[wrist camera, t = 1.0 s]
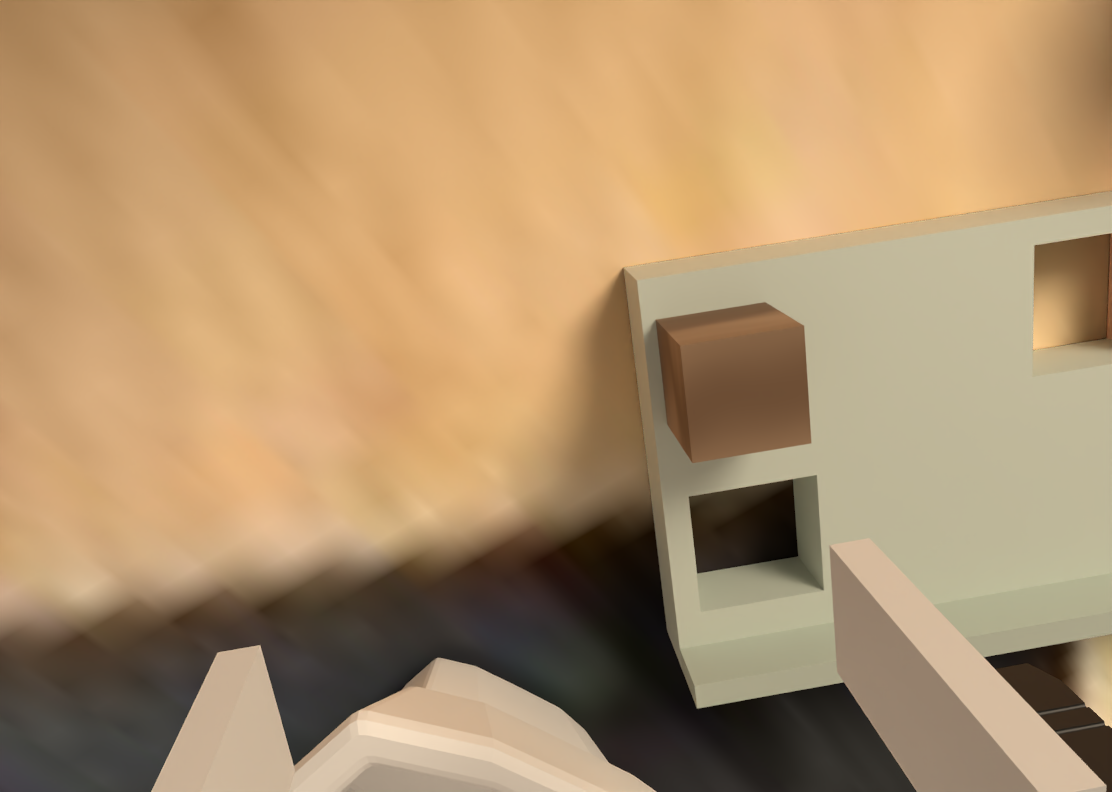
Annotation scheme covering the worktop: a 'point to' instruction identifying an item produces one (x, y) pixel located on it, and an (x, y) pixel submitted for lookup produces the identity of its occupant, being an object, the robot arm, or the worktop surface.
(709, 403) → the walnut block
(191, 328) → the worktop surface
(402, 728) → the bowl
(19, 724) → the worktop surface
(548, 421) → the worktop surface
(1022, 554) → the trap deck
